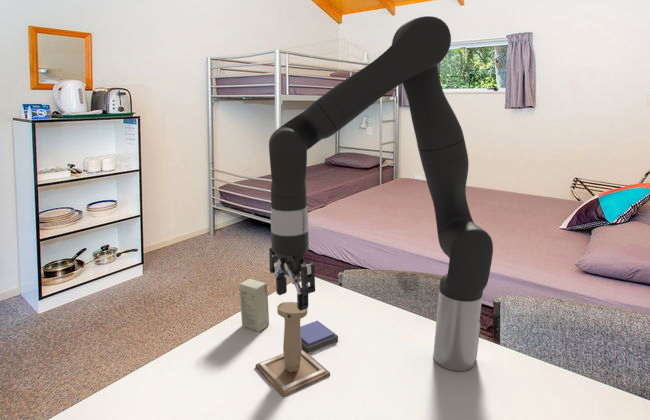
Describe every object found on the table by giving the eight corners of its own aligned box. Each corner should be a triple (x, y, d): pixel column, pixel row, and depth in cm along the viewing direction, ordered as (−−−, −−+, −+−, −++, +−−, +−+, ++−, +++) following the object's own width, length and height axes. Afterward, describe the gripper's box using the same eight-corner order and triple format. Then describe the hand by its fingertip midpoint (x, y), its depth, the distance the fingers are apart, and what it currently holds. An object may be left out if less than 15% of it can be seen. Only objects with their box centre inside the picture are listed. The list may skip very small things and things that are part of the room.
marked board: (300, 349, 103) (300, 345, 103) (330, 375, 94) (330, 371, 93) (255, 366, 96) (255, 362, 96) (282, 396, 87) (282, 392, 87)
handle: (303, 377, 92) (303, 314, 88) (275, 373, 93) (274, 310, 89) (309, 364, 96) (309, 304, 92) (282, 360, 98) (281, 300, 94)
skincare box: (269, 325, 113) (268, 283, 110) (258, 332, 110) (257, 289, 107) (251, 318, 117) (250, 277, 113) (240, 325, 113) (238, 283, 110)
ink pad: (317, 325, 114) (317, 318, 113) (338, 341, 106) (338, 334, 106) (288, 336, 108) (288, 329, 108) (308, 353, 101) (308, 345, 101)
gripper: (325, 233, 83) (325, 309, 87) (287, 217, 94) (289, 284, 98) (292, 241, 78) (294, 320, 83) (256, 223, 89) (260, 293, 94)
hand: (291, 301), depth 90 cm, fingers open, 8 cm apart
